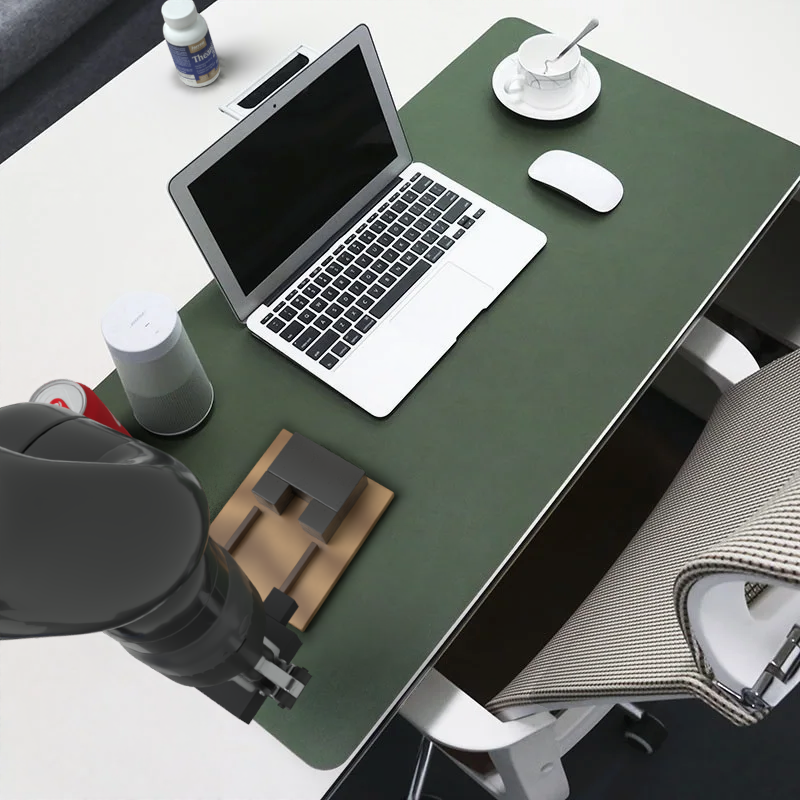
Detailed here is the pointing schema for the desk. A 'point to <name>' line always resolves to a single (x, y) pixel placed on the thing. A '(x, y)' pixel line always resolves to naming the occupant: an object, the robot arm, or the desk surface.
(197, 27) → the pill bottle
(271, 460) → the dock
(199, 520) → the robot arm
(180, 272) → the desk surface
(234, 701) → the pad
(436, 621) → the desk surface
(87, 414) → the beverage can
